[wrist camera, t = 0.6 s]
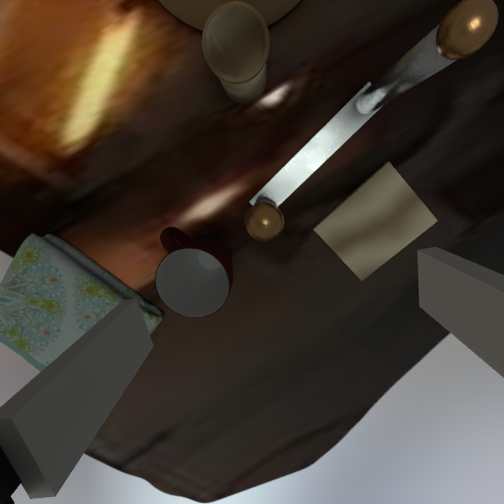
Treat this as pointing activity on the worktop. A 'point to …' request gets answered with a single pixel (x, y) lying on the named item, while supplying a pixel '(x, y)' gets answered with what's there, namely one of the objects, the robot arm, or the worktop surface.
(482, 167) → the worktop surface
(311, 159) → the grey piece
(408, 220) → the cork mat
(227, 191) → the worktop surface
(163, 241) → the mug
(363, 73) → the worktop surface
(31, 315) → the towel
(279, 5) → the planter
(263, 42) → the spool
